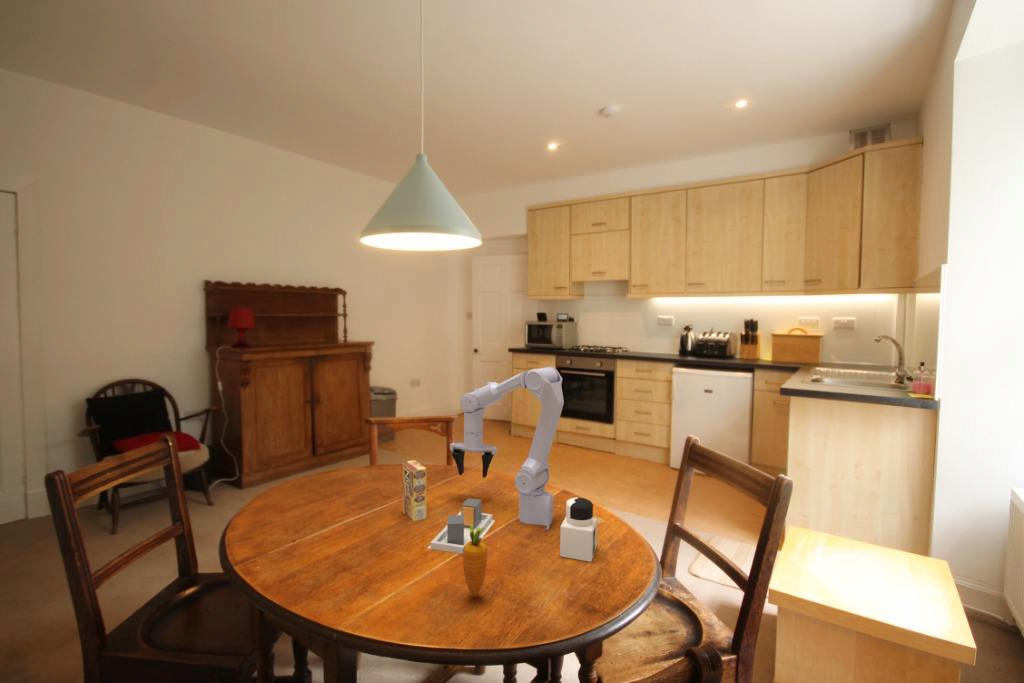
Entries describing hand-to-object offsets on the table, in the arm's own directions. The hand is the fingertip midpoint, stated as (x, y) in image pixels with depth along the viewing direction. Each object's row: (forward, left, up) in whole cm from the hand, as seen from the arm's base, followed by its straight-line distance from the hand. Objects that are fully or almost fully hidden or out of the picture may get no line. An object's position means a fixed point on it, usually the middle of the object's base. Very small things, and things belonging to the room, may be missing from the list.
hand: (472, 475), depth 142 cm
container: (-35, +19, -10) cm, 41 cm away
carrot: (-17, +44, -10) cm, 48 cm away
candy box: (+13, +13, -10) cm, 21 cm away
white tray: (-5, +20, -9) cm, 23 cm away
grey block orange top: (-5, +26, -8) cm, 27 cm away
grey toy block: (-5, +14, -8) cm, 17 cm away
